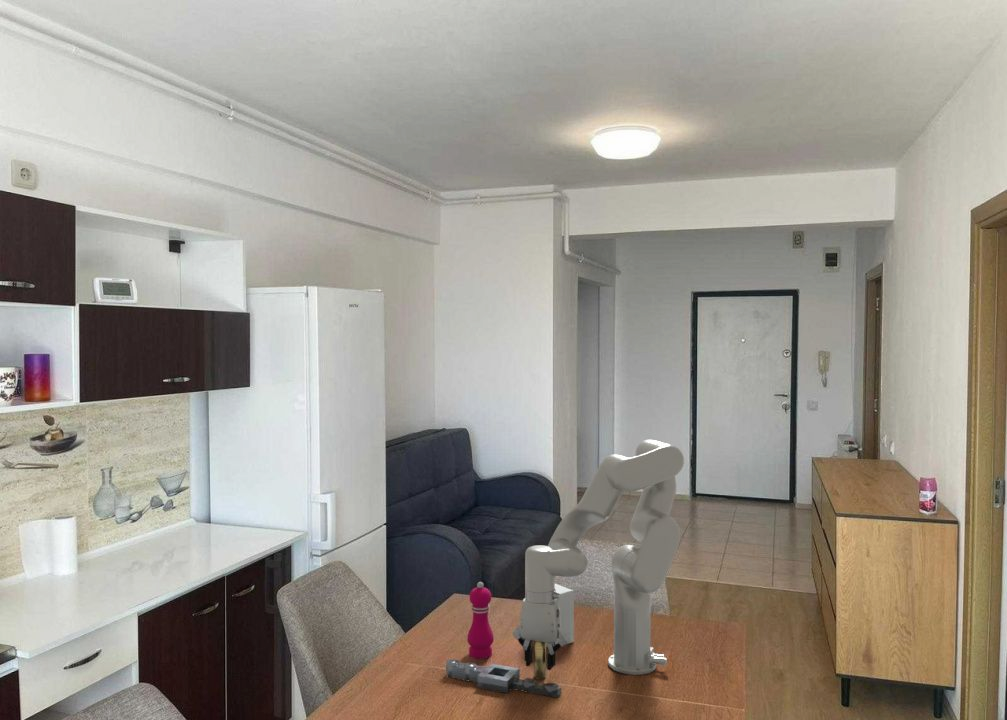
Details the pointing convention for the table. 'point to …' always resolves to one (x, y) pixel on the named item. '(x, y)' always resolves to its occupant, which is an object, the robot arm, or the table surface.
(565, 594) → the supplement box
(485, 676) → the chain ends
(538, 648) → the brass pin
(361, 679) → the table surface
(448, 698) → the table surface
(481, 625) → the pepper mill
